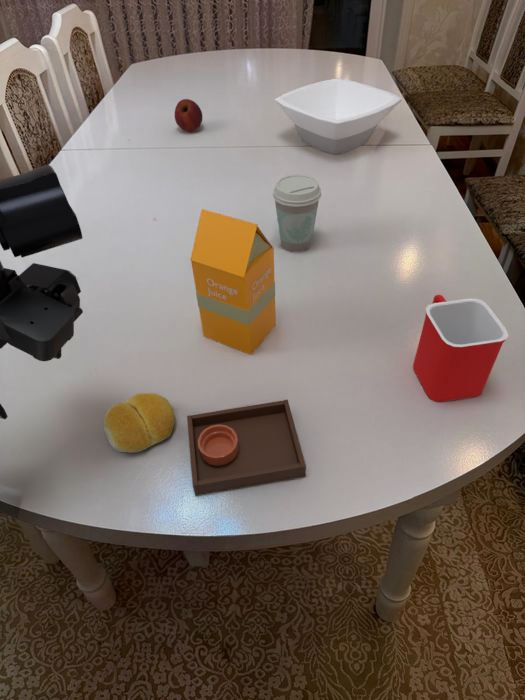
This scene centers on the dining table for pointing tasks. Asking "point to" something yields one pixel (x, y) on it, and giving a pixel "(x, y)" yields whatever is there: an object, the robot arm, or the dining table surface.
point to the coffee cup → (296, 210)
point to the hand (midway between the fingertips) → (31, 385)
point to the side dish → (218, 445)
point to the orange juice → (233, 281)
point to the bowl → (337, 113)
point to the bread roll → (139, 422)
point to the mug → (457, 348)
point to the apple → (188, 115)
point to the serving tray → (248, 448)
